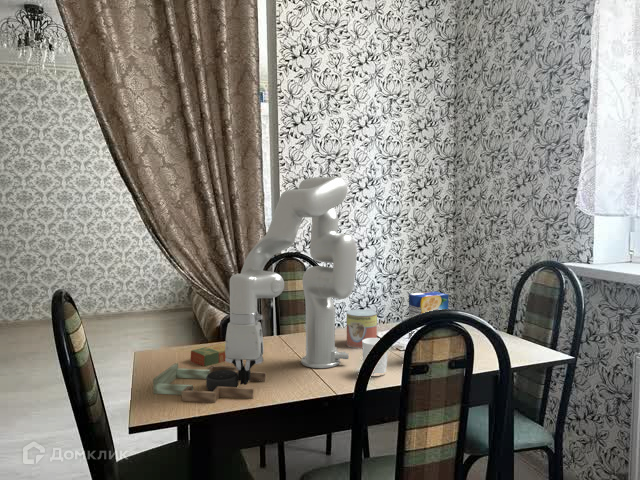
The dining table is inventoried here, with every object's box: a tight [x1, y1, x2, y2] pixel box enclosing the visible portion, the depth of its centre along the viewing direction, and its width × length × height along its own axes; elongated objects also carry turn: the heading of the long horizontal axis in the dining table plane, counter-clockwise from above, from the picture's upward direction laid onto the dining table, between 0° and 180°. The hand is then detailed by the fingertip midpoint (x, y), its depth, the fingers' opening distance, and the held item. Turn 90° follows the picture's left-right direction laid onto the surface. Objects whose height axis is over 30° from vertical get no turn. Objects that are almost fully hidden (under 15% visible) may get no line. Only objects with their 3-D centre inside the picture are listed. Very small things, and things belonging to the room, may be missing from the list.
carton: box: [190, 341, 226, 368], centre depth 169 cm, size 8×16×4 cm, turn 136°
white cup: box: [362, 337, 389, 374], centre depth 153 cm, size 8×8×10 cm
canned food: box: [345, 308, 378, 349], centre depth 186 cm, size 11×11×12 cm
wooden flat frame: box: [152, 363, 267, 403], centre depth 142 cm, size 28×22×4 cm
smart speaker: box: [205, 370, 239, 392], centre depth 141 cm, size 9×9×4 cm
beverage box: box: [408, 291, 449, 339], centre depth 166 cm, size 7×11×22 cm, turn 116°
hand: (244, 382), depth 140 cm, fingers closed
